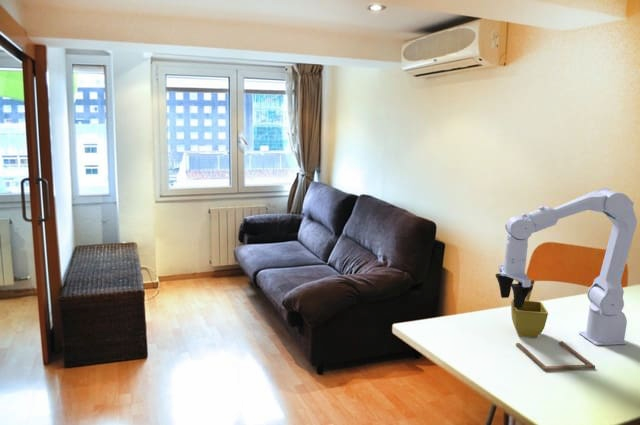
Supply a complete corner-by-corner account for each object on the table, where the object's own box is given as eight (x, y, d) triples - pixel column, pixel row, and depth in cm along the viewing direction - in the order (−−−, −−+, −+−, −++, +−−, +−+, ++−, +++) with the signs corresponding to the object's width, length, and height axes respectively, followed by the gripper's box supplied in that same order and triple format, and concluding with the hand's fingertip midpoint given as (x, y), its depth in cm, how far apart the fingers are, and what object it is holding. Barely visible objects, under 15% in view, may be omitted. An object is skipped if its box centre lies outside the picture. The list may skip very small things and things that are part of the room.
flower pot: (545, 342, 139) (548, 312, 137) (513, 339, 141) (516, 310, 139) (538, 329, 147) (541, 301, 146) (508, 326, 149) (510, 299, 147)
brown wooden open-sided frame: (562, 343, 138) (562, 341, 138) (594, 368, 124) (595, 366, 124) (515, 345, 136) (516, 343, 136) (543, 371, 123) (544, 368, 123)
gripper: (490, 251, 146) (487, 293, 149) (515, 265, 132) (511, 312, 135) (512, 250, 147) (508, 293, 150) (539, 265, 133) (534, 311, 136)
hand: (511, 302), depth 143 cm, fingers open, 7 cm apart
